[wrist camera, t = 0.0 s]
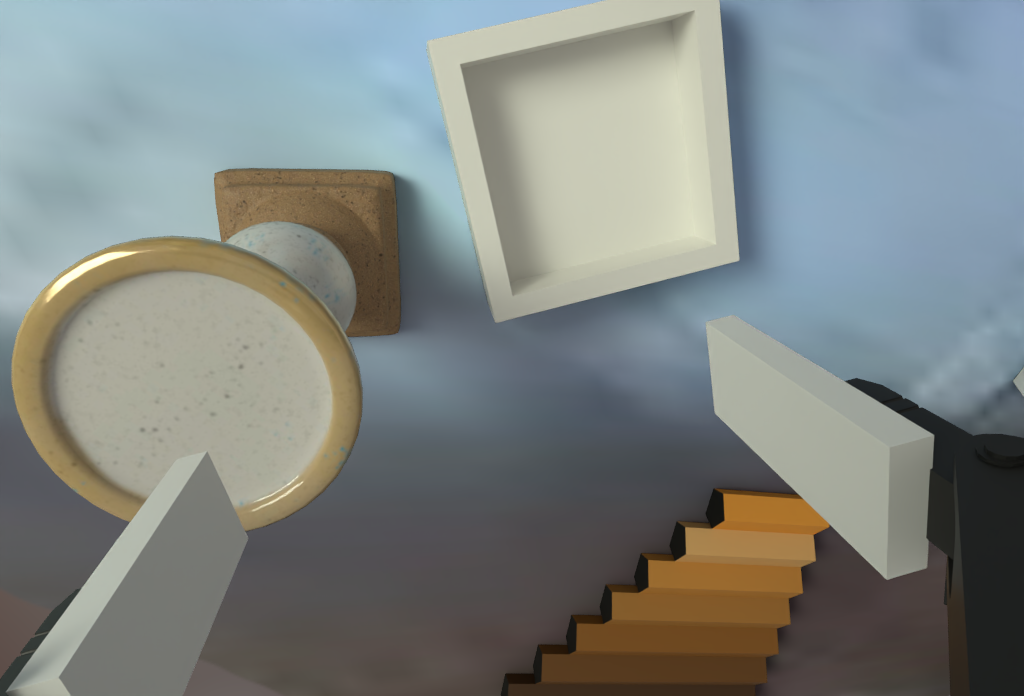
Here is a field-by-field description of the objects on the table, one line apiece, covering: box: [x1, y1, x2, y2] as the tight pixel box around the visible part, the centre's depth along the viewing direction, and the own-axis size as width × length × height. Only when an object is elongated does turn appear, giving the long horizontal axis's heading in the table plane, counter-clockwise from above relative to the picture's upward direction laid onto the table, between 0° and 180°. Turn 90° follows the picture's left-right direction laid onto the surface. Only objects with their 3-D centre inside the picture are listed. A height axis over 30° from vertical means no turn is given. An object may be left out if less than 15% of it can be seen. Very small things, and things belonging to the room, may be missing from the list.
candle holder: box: [12, 168, 401, 532], centre depth 30 cm, size 11×11×24 cm
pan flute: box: [501, 489, 829, 696], centre depth 55 cm, size 25×3×25 cm
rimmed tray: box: [426, 0, 739, 323], centre depth 39 cm, size 17×17×4 cm
